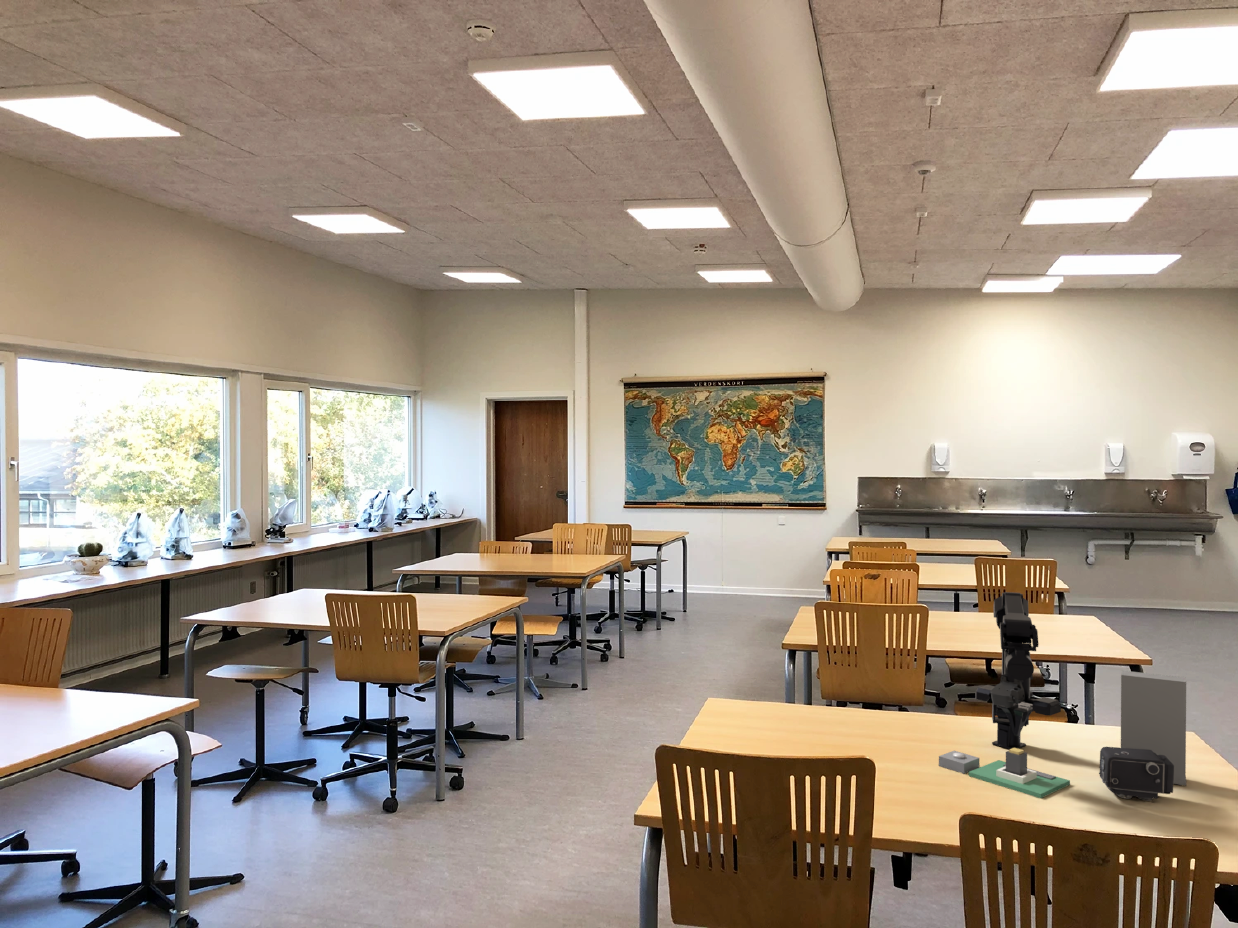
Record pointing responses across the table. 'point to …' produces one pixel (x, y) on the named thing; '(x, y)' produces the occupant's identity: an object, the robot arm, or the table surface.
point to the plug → (1016, 761)
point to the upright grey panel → (1155, 717)
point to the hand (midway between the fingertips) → (1016, 735)
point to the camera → (1136, 772)
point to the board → (1020, 779)
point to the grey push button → (959, 762)
